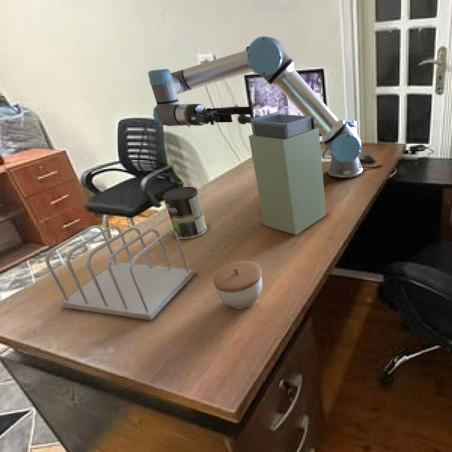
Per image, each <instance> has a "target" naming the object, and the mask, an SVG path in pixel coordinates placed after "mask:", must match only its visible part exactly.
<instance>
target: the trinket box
mask: <svg viewBox="0 0 452 452" xmlns="http://www.w3.org/2000/svg"><path fill="white" fill-rule="evenodd" d="M213 284H214V287H215V290H216V292H217V294H218V297H219V298H220V299H221V301H222V302H223V303H224V304H225V305H227V306H229V307H232V308H234V309H237V310H242V309H246V308H249V307H251V306H253V305H254V304H255V303H256V301H257V300H258V298H260V296H261V294H262V291H263V276H262V268H261V266H260V265H259V264H258V263H256V262H253V261H249V260H240V261H235V262H231V263H229V264H228V263H227V264H226V265H224V266H223V267H221V268H219V269H218V271H216V273H214V276H213Z"/></svg>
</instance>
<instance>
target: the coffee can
mask: <svg viewBox="0 0 452 452" xmlns="http://www.w3.org/2000/svg"><path fill="white" fill-rule="evenodd" d="M162 199H163V201H164V205H165V207H166V209H167V213H168V216H169V219H170V222H171V225H172V230H174V231H176V232H177V234H178V237H179V240H180V239H181V240H190V239H194V238H198V237H199V236H200V237H201V236H202V235H204V233H206V232H207V230H208V226H207V223H206V219H205V215H204V211H203V208H202V205H201V200H200V197H199V193H198V188H196V187H194V186H182V187H176V188H173V189H170V190H168V191H166V192H165V193H163V195H162Z"/></svg>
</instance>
